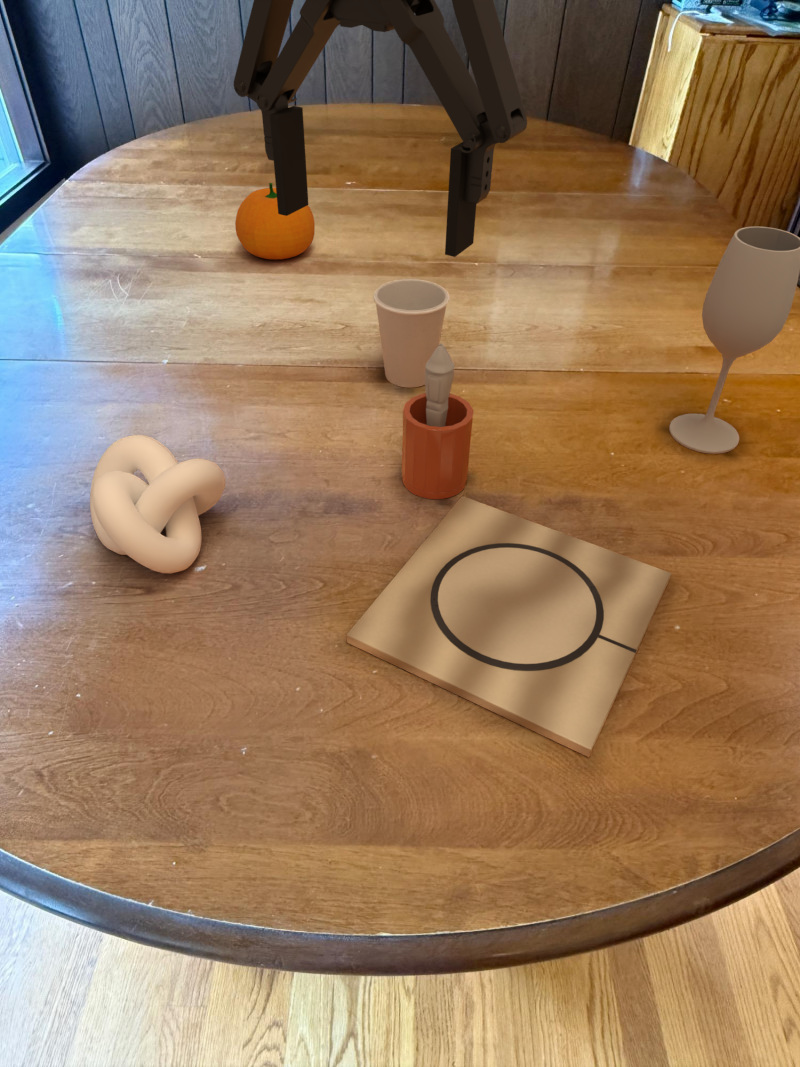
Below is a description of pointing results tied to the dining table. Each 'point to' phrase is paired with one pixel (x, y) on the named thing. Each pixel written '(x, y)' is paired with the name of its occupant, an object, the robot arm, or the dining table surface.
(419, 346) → the dixie cup
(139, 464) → the beige decorative knot
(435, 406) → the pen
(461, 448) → the pen pot
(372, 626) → the drawing board
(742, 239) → the wineglass
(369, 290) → the dining table surface
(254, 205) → the fruit
